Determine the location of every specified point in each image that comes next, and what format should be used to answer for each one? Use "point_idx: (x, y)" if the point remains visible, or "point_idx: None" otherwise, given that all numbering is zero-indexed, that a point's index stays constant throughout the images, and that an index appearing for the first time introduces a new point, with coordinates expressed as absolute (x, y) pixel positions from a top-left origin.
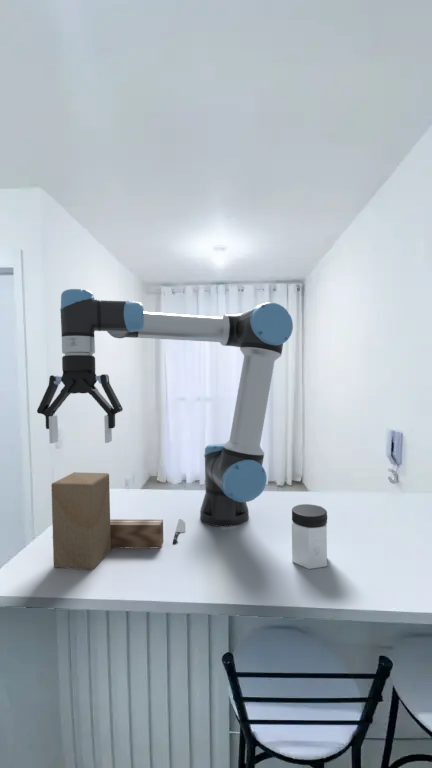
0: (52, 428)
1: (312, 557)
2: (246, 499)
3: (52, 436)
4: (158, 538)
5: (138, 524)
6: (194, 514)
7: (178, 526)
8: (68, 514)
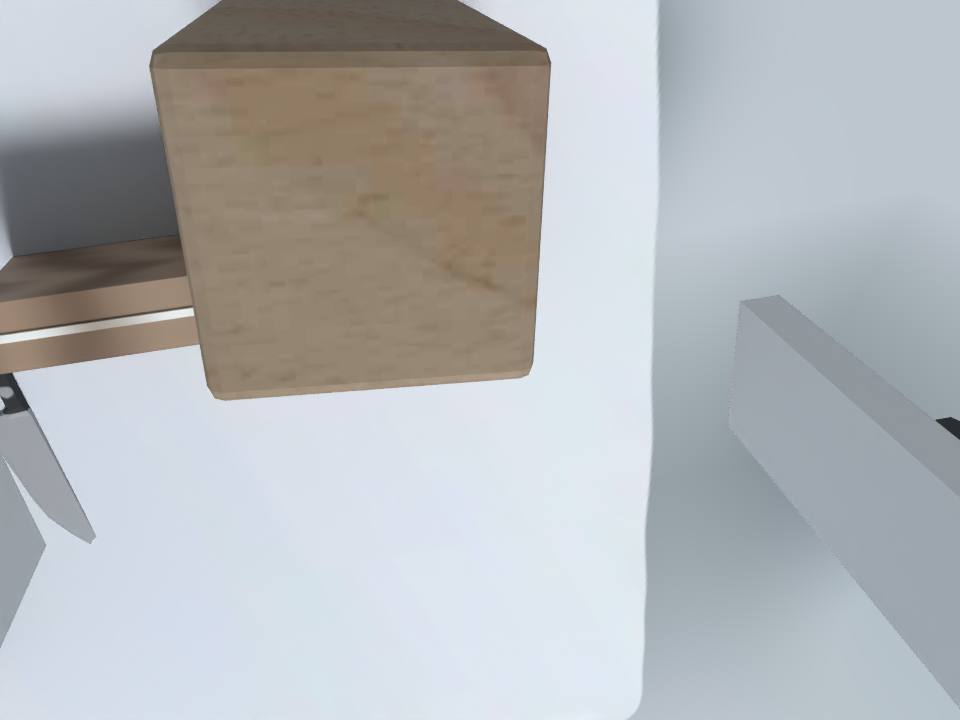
0: (857, 415)
1: None
2: None
3: (787, 343)
4: (7, 274)
5: (102, 292)
6: (45, 595)
7: (50, 469)
8: (370, 16)
